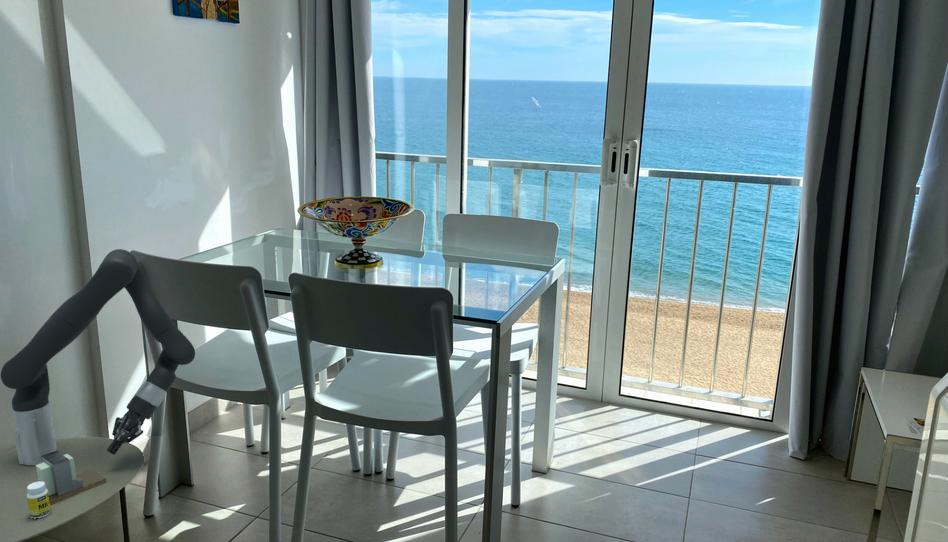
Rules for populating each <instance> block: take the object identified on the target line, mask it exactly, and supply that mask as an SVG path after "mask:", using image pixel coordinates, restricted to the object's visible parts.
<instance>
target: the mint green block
mask: <svg viewBox="0 0 948 542" xmlns="http://www.w3.org/2000/svg"><path fill="white" fill-rule="evenodd" d="M63 455H64V456H65V457H67V458H68V459H69V461H70V467H71V473H72V479H73V480H76V479H77V478H76V474H77V473H76V466H75V460H74V457H72V456H71V455H69V453H66V454H63ZM35 470H36V476H37V480H38V481H37V482H39V481H42V482H45V486H46V489H47V490H48V495H49V496H50V495H52V494H55V484H54V478H53V473H52V467H51V466H50V465H49V464H48V463H46V462H43V463H41V464H38V465H35Z"/></svg>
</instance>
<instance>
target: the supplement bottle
mask: <svg viewBox="0 0 948 542" xmlns="http://www.w3.org/2000/svg"><path fill="white" fill-rule="evenodd" d="M26 491H27V494H26V500H27V502H26V503H27V507H28V511H29V517H30V518H31V519H32V518H34V519H33V520H36V518H39V519H43V518H46V517H47V516H48V515H50V514H51V512H52V509H51V505H50V501H49V495H48V490H47V489H46V486H45V482H42V481H39V482H38V481H34V482H32V483H30V484H29V485H27V486H26ZM42 517H43V518H42Z"/></svg>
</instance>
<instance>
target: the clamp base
mask: <svg viewBox="0 0 948 542" xmlns="http://www.w3.org/2000/svg"><path fill="white" fill-rule="evenodd" d="M64 455H65V454H62V453H61V452H60V451H58V449H57V450H56V451H54V452H51V453H48V454H45V455H42V456H41V460H42V463H43V462H46V463H48V464H49V465H50V466H51V467H52V473H53V478H54V484H55V494H52V495H50V496H49V501H50V506H51V505H54V504H57V503H59V502H61V501H63V500H66V499H68V498H70V497H71V498H72V497H73V496H76V495H78V494H81V493H83V492H85V491H88V490H90V489H93V488H96V487H97V486H100V485H103V484H106V483H107V477H105V476H104V475H102V474H101V473H99V472H98V471H96V470H94V469H93V468H89V469H87V470H84V471H80V472H79V473H76V478H77V479H76V480H73V479H72V473H71V467H70V461H69V459H68V458H67V457H65V456H64Z"/></svg>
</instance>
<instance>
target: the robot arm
mask: <svg viewBox="0 0 948 542" xmlns="http://www.w3.org/2000/svg"><path fill="white" fill-rule="evenodd" d="M123 289H125V290H126V291H127V293H128V294H129V296H130V297H131V300H132V302H133V303H134V306H135V310H136V311H137V314H138V315H139V316H138V317H139V318H140V319H141V322H142V323H143V325H144V326H145V328H146V329H147V331H148V332H149V333H150V334H151V336H152V337H153V339H154V340H156V341H157V342H159V344H160V345H162V346H163V349H162V350H161V353H160V354H159V356H158V359H157V361H156V363H155V365H154V368H152V369H153V370H152V371H151V373H150V374H149V375H148V377H147V378H146V379H145V381H144V382H143V383H142V384H141V385H140V387H139V388H138V389H137V390H136V391H135V394H133V396H132V398H131V400H130V401H129V402H128V403H127V405H126V409H127V410H128V411H127V412H126V413H124V415H123V416H122V417H119V416H117V417H116V418H115V421H114V424H113V430H112V434H111V435H112V436H113V440H112V442H111V443H110V445H109V446H108V447H107V449H106V452H108V453H109V454H111V455H113V456H115V455H116V454H117V453H118V452H119V450H120V448H121V447H122V446H123V444H125V443H126V444H130V443H131V442H132V441H134V440H136V439H137V438H139V437H140V436H141V435H142V434H144V430H142V427H143V425H144V422H145V421H146V420H150V419H151V418H152V417H153V415H154V414H155V412H156V411H157V409H158V408H159V406H160V405H161V403H162V402H163V400H164V398H165V397H166V394H167V392H168V391H169V390H170V389H171V387H172V385H173V384H174V382H175V381H176V378H177V375H176V373H175V372H176V371H177V369H178V367H179V366H186V365H189V364H191V363H192V362H193V361H194V359H195V358H196V357H195V356H196V349H195V347H194V345H193V344H192V342H191V341H190V340H189V338H188V337H187V336H185V335H184V333H183V332H182V331H181V330H179V328H178V327H177V326H176V323H175V322H174V321H173V319H172V318H171V317H170V315H169V314H168V312H167V311H166V310H165V308H164V307H163V305H162V304H161V302H160V301H159V299H158V298H157V296H156V295H155V293H154V291H153V290H152V288H151V286H150V284H149V283H148V280H147V278H146V276H145V274H144V273H143V270H142V268H141V266H140V264H139V262H138V260H137V258H136V256H135V255H134V254H133V253H131V252H130V251H128V250H126V249H122V248H118V249H114V250H112V251H109V253H107V255H106V256H105V257H104V258H103V260H102V261H101V263H100V265H99V266H98V268H97V270H96V271H95V273H94V274H93V275H92V276H91V278H90V279H89V280H88V282H87V283H86V284H85V285H84V287H82V288H81V289H80V290H79V291H78V292H76V293H74V294H73V295H72V296H70V297H69V298H68V299H66V300H65V301H64V302H63V303H62V304H60V306H58V308H57V309H56V310H55V311H54V312H53V313H52V314H51V316H49V318H48V319H47V320H46V321H45V322H44V323H43V325H42V326H41V327H40V328H39V330H38V331H37V332H36V333H35V334H34V335H33V338H32V339H31V340H30V341H28V343H27V344H26V345H25V346H24V347H23V348H21V350H20V351H18V352H17V353H16V354H15V355H14V356H13V357H11V358H10V359H9V360H7V361H6V362H5V363H4V365H2V367H1V371H0V381H1V382H2V384H3V385H4V386H5V387H6V388H9V389H11V390H15V393H14V395H13V397H12V399H11V408H12V412H13V413H12V414H13V418H14V424H15V430H16V433H15V434H14V437H13V438H14V442H15V446H16V447H15V449H16V453H17V458H18V464H19V465H25V466H36V465H38V464H41V463H42V460H41V456H42V455H45V454H48V453H51V452H54V451H56V450H57V451H58V448H57V443H56V436H55V431H54V424H53V419H52V412H51V405H50V401H49V397H50V391H51V389H50V379H49V371H48V370H49V369H48V363H49V361H51V359H53V358H54V357H55V356H56V355H58V354H60V352H61V351H63V350H64V349H66V347H68V346H69V345H70V344H72V343H73V342H74V341H75V340H76V339H77V338H78V337H79V336H80V335H81V334H82V333H83V332H84V331H85V329H87V328H88V327H89V326H90V324H91V323H92V322H93V321H94V320H95V319H96V317H97V316H98V315H99V313H100V312H101V310H102V309H103V308H104V306H105V305H106V304H107V303H108V302H109V301H110V300H111V299H112V298H114V296H115V297H116V295H117V294H118V293H119V292H121V291H122V290H123Z"/></svg>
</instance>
